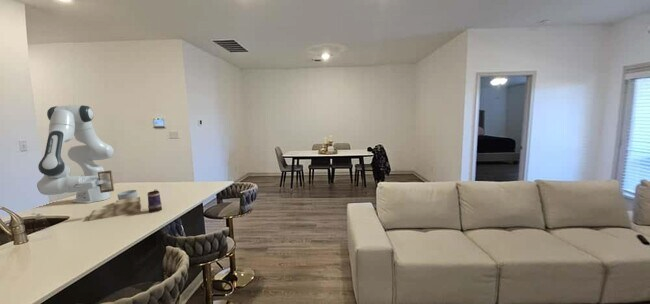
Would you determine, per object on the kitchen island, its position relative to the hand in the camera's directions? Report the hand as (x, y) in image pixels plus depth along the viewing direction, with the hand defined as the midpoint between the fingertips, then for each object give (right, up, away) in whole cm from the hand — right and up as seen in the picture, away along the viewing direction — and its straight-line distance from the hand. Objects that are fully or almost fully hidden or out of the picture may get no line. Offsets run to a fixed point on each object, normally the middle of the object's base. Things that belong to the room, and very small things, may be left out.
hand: (107, 180), depth 168 cm
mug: (+23, -19, +9) cm, 31 cm away
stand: (+3, -20, +4) cm, 21 cm away
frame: (-1, -7, 0) cm, 7 cm away
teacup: (-4, -18, +26) cm, 32 cm away
